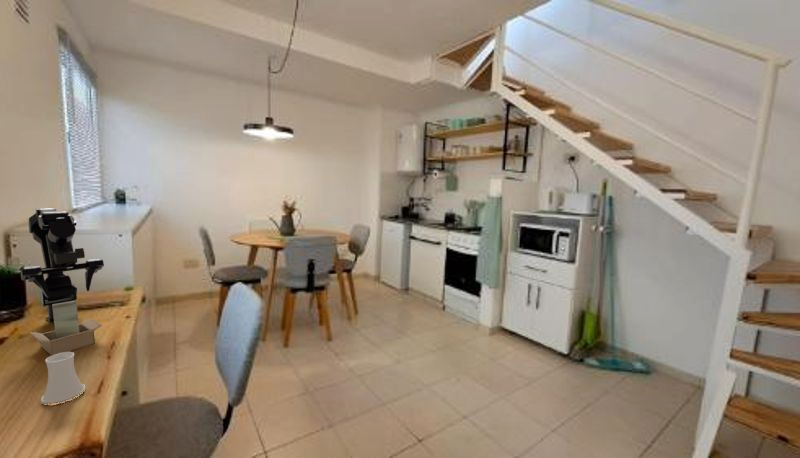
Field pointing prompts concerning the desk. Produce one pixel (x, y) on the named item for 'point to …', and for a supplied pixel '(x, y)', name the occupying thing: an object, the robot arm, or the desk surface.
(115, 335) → the desk surface
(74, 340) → the carton
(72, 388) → the vase
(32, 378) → the desk surface
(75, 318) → the box
